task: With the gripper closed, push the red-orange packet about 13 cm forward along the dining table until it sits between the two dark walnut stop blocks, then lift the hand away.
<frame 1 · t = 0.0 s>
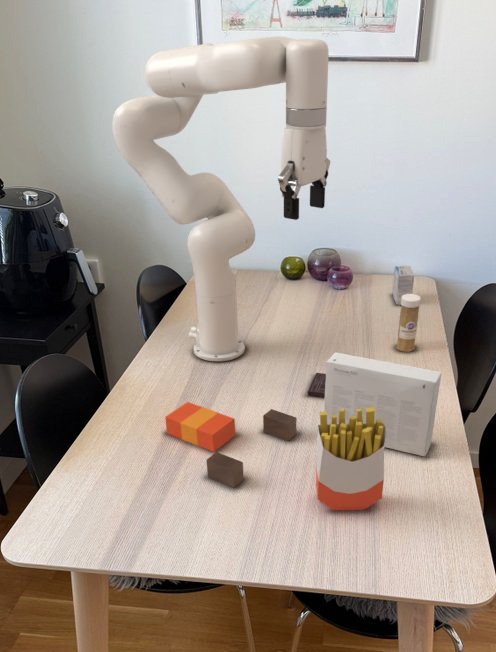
hand: (304, 212, 133), 37 cm above the table, tool pointing down, fingers open, 9 cm apart
skincare box: (376, 438, 133), on the table
medicine box: (401, 300, 191), on the table
french fries container: (347, 503, 116), on the table
walnut gate: (254, 454, 128), on the table
chocolate bar: (351, 391, 148), on the table
orange packet: (201, 434, 134), on the table
sprinkles bottle: (405, 349, 165), on the table
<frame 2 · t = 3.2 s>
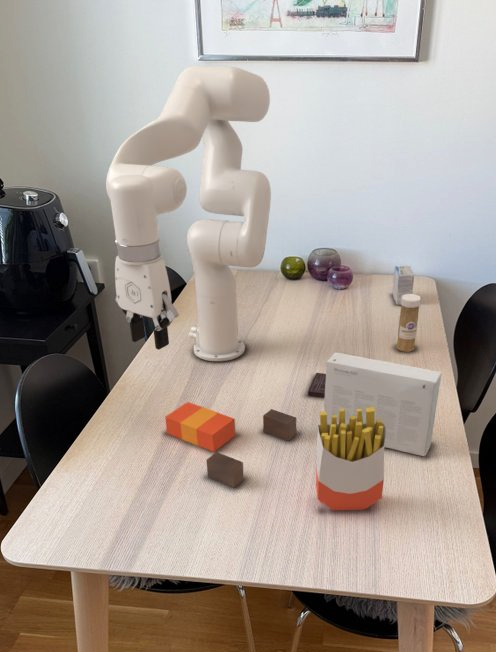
hand: (150, 342, 129), 17 cm above the table, tool pointing down, fingers open, 5 cm apart
nothing on the table moved.
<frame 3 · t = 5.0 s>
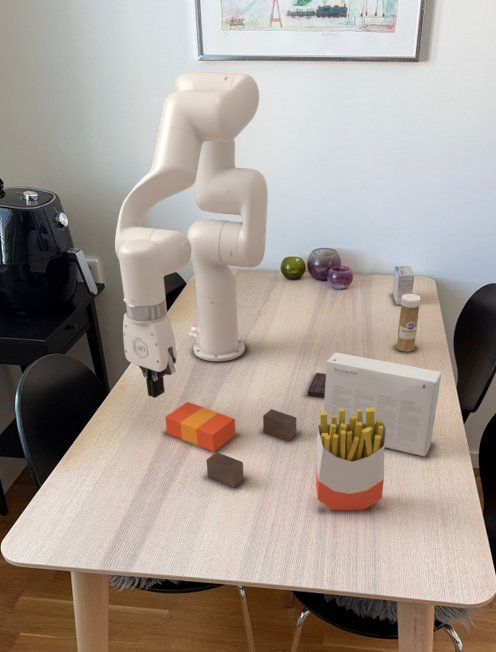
hand: (156, 394, 135), 6 cm above the table, tool pointing down, fingers closed
nothing on the table moved.
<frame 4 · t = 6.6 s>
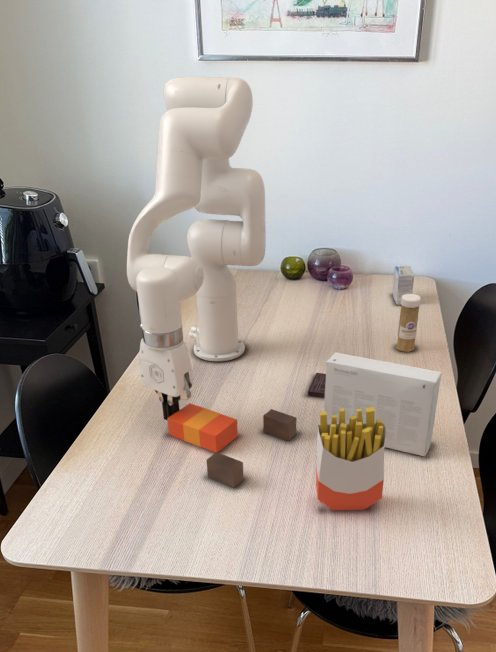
hand: (172, 417, 136), 2 cm above the table, tool pointing down, fingers closed
orange packet: (203, 435, 134), on the table, touching gripper
everything else where it was.
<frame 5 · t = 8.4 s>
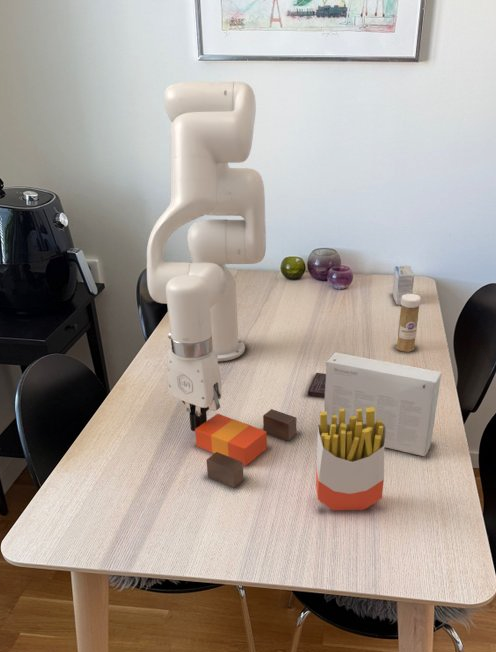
hand: (199, 428, 133), 2 cm above the table, tool pointing down, fingers closed
orange packet: (231, 447, 130), on the table, touching gripper
everything else where it was.
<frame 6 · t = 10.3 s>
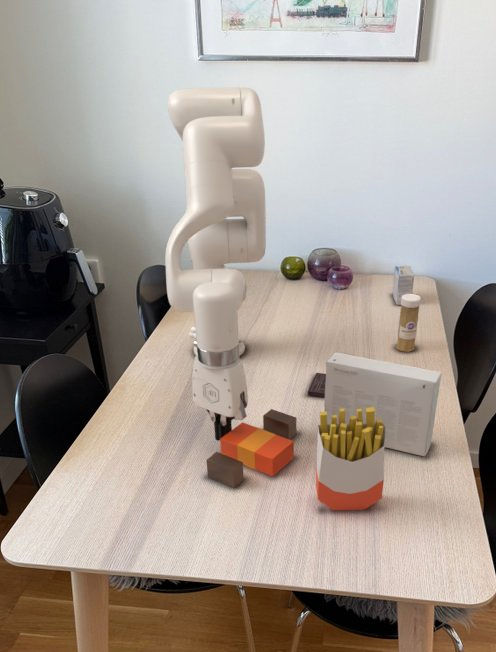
hand: (223, 437, 130), 2 cm above the table, tool pointing down, fingers closed
orange packet: (257, 457, 127), on the table, touching gripper
everything else where it was.
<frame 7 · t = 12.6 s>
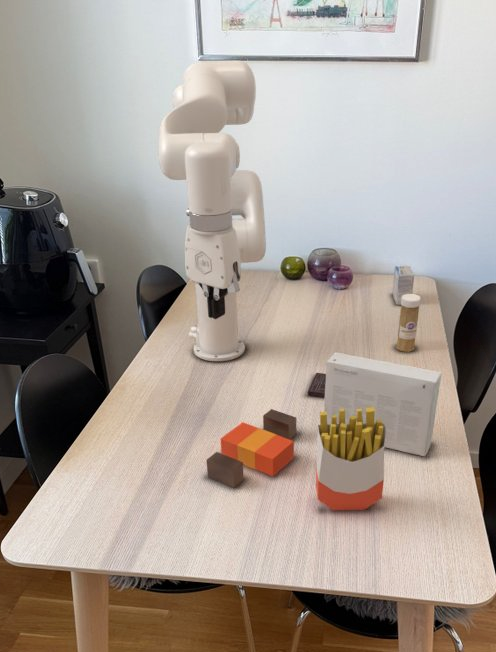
hand: (216, 315, 129), 22 cm above the table, tool pointing down, fingers closed
orange packet: (257, 457, 127), on the table
everything else where it was.
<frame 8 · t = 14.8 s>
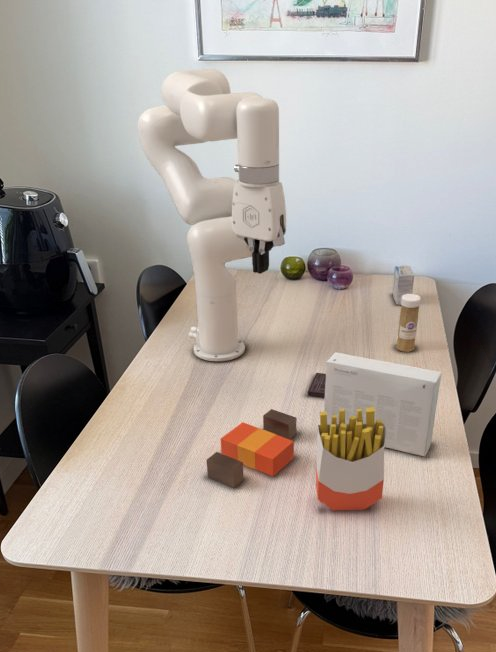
hand: (260, 270, 134), 27 cm above the table, tool pointing down, fingers closed
nothing on the table moved.
at the end: orange packet inside the target area on the walnut gate (1.0 cm from its centre), point 0.0 cm above the walnut gate's base; orange packet moved 14.0 cm from its start; orange packet tilted 0° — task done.
